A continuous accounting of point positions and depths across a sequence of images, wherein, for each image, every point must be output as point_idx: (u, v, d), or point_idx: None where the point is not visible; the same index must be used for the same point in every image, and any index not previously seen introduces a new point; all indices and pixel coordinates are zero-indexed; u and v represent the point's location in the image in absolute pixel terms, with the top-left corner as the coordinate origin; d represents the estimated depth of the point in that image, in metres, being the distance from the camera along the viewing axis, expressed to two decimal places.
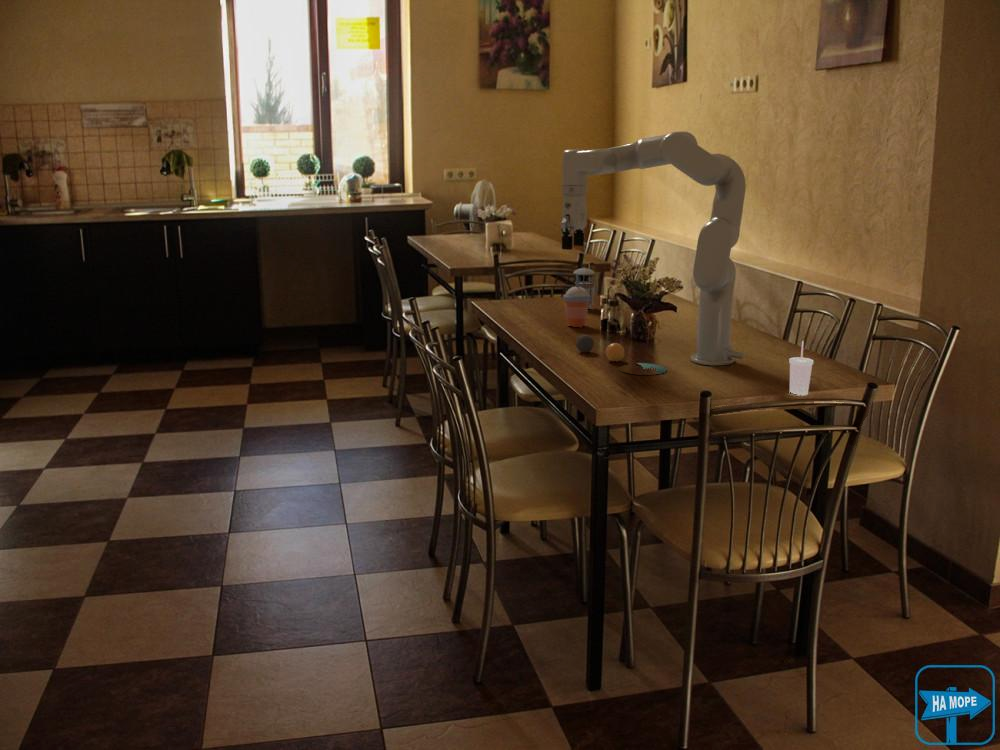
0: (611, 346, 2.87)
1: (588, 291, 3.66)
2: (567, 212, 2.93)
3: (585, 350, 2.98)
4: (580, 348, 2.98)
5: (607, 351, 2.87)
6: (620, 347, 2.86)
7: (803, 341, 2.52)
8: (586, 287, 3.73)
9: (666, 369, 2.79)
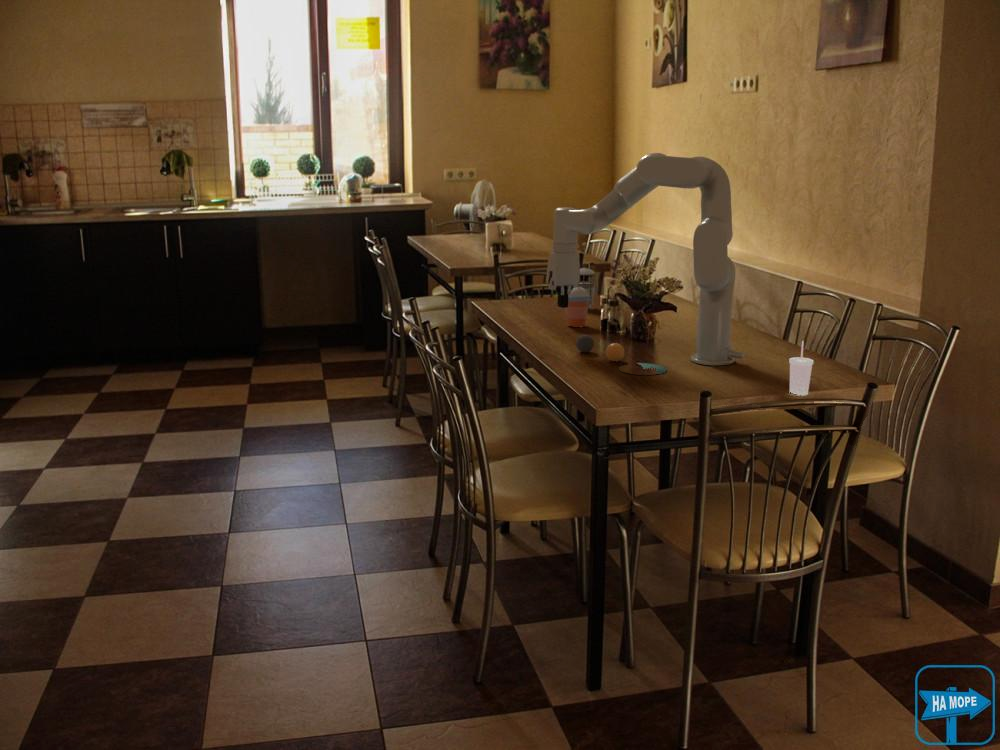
0: (611, 346, 2.87)
1: (588, 291, 3.66)
2: None
3: (585, 350, 2.98)
4: (580, 348, 2.98)
5: (607, 351, 2.87)
6: (620, 347, 2.86)
7: (803, 341, 2.52)
8: (586, 287, 3.73)
9: (666, 369, 2.79)
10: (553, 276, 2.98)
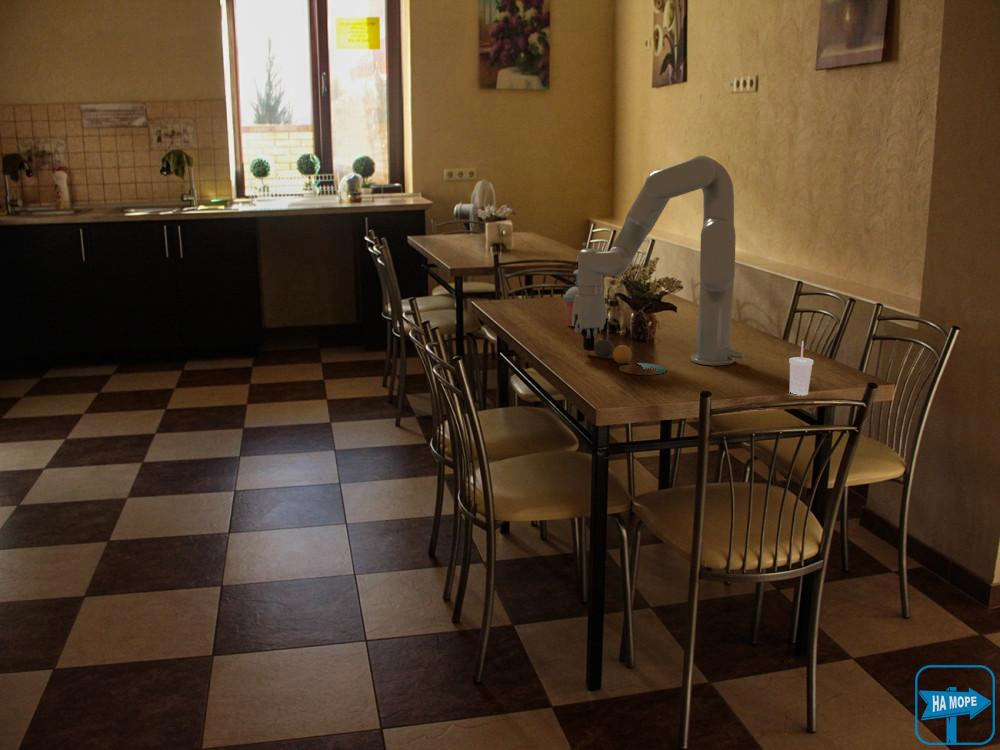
0: (622, 354, 2.83)
1: None
2: None
3: None
4: (595, 346, 2.92)
5: (616, 353, 2.84)
6: (628, 359, 2.84)
7: (803, 341, 2.52)
8: None
9: (666, 369, 2.79)
10: (579, 319, 2.90)
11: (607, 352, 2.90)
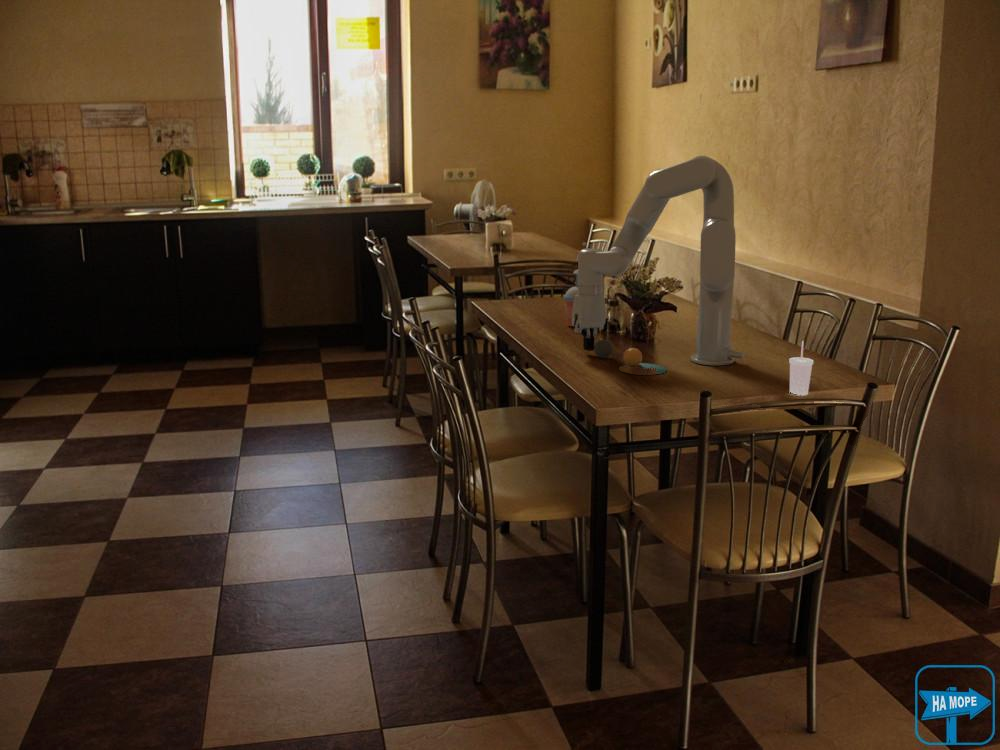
0: (628, 365, 2.81)
1: None
2: None
3: None
4: (595, 346, 2.92)
5: (627, 360, 2.80)
6: None
7: (803, 341, 2.52)
8: None
9: (666, 369, 2.79)
10: (579, 319, 2.90)
11: (607, 352, 2.90)
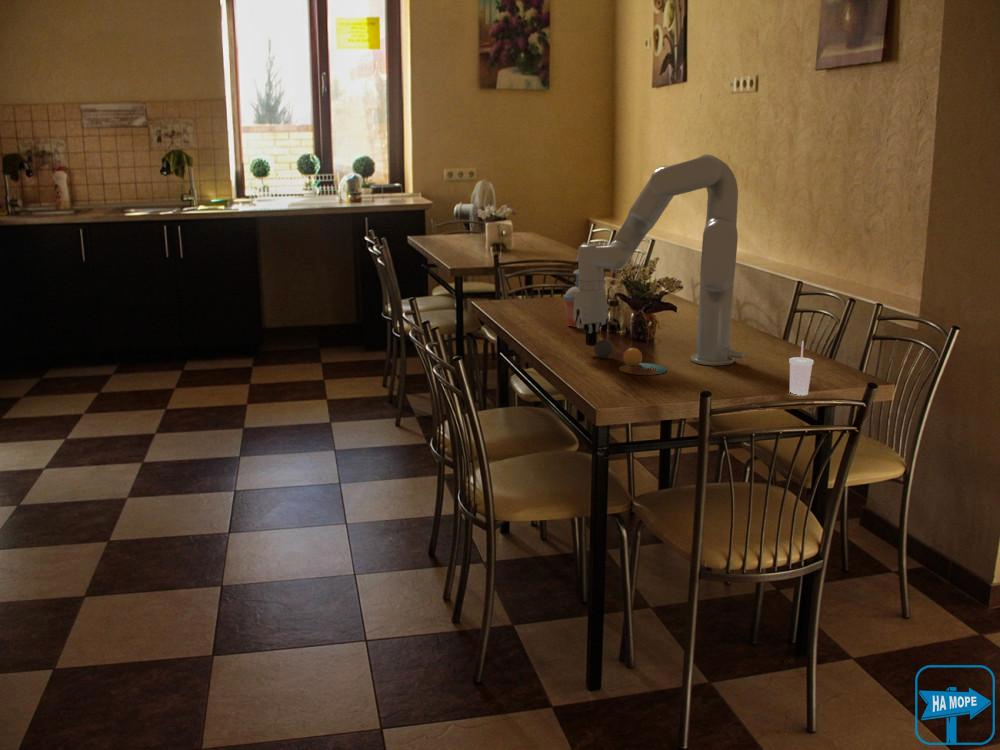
0: (628, 365, 2.81)
1: None
2: None
3: None
4: (595, 346, 2.92)
5: (627, 360, 2.80)
6: None
7: (803, 341, 2.52)
8: None
9: (666, 369, 2.79)
10: (580, 314, 2.90)
11: (607, 352, 2.90)
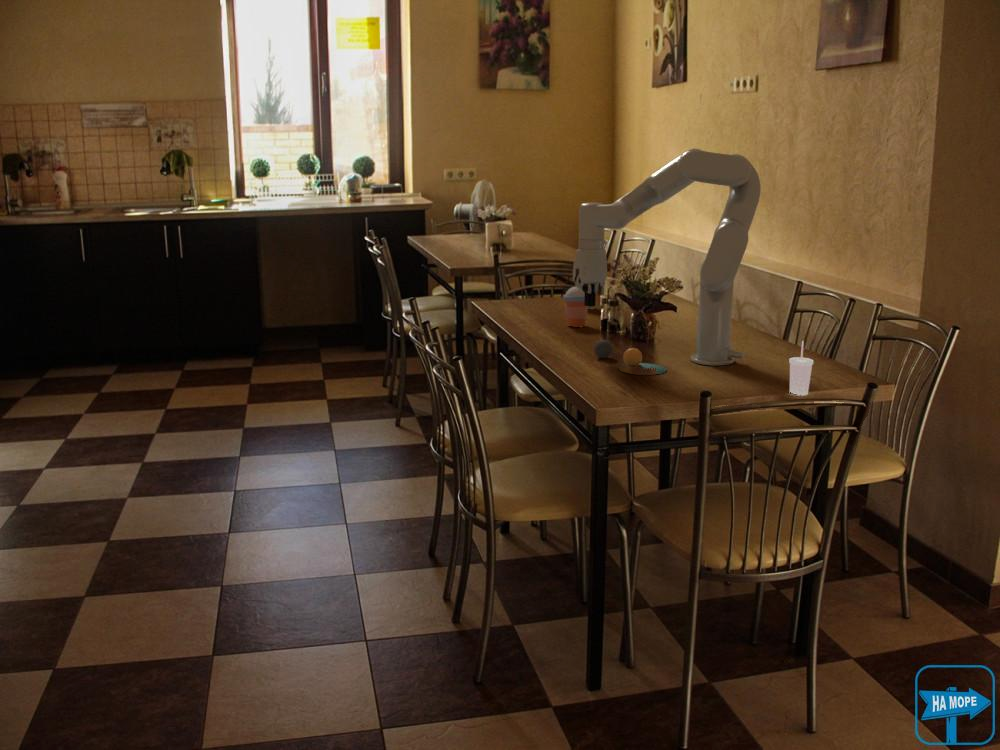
0: (628, 365, 2.81)
1: None
2: None
3: None
4: (595, 346, 2.92)
5: (627, 360, 2.80)
6: None
7: (803, 341, 2.52)
8: None
9: (666, 369, 2.79)
10: (580, 274, 2.87)
11: (607, 352, 2.90)
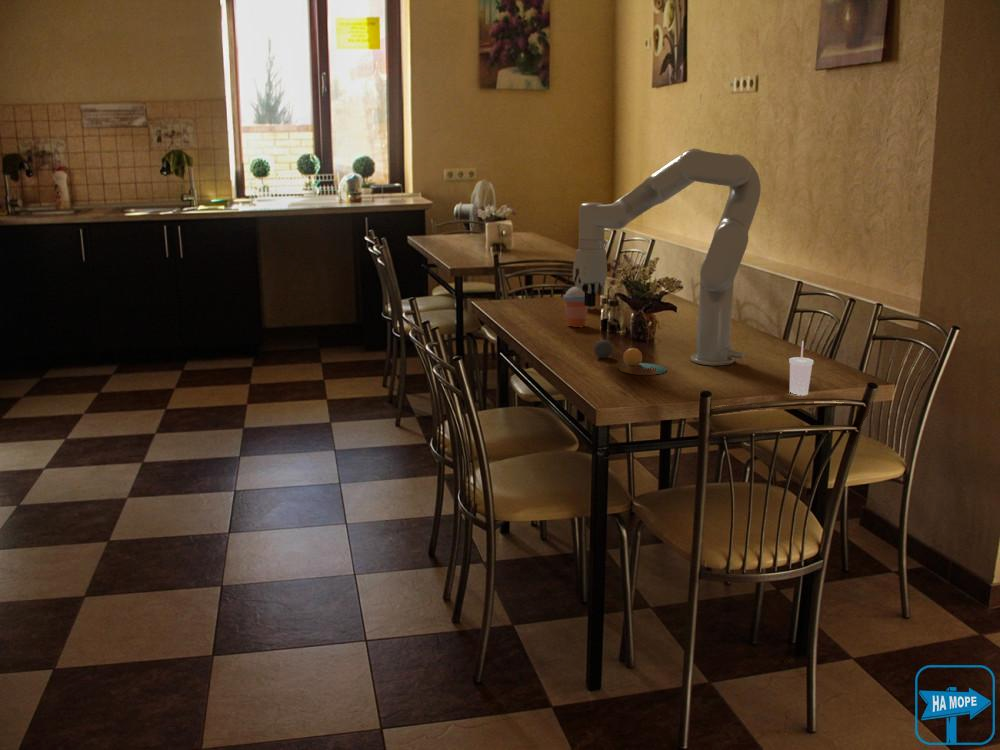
0: (628, 365, 2.81)
1: None
2: None
3: None
4: (595, 346, 2.92)
5: (627, 360, 2.80)
6: None
7: (803, 341, 2.52)
8: None
9: (666, 369, 2.79)
10: (580, 274, 2.87)
11: (607, 352, 2.90)
